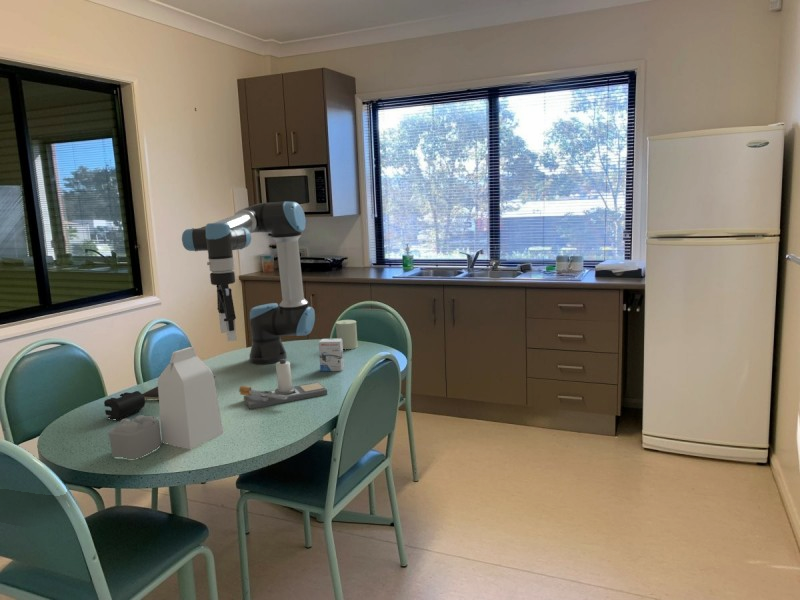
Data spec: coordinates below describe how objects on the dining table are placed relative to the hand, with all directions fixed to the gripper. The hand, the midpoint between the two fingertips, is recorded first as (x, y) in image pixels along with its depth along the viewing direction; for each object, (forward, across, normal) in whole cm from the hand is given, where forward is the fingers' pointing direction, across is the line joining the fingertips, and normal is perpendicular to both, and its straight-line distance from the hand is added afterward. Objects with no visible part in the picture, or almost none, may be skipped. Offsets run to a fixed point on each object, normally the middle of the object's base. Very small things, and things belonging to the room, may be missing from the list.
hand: (228, 336), depth 193 cm
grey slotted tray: (+23, +4, +16) cm, 28 cm away
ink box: (+23, -18, +40) cm, 49 cm away
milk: (+23, +24, -16) cm, 37 cm away
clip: (+20, +7, +8) cm, 23 cm away
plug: (+23, +4, +16) cm, 28 cm away
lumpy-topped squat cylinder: (+23, +24, -30) cm, 45 cm away
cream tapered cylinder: (+23, -47, +57) cm, 77 cm away
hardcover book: (+24, -26, -16) cm, 38 cm away
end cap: (+23, -8, -33) cm, 41 cm away
